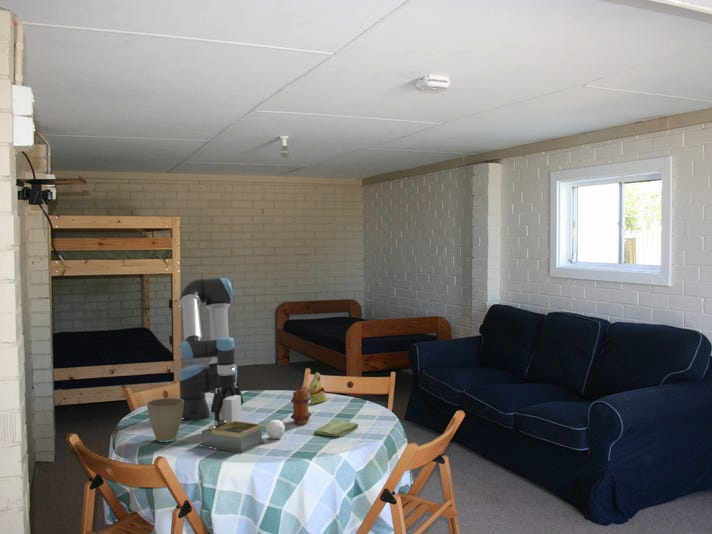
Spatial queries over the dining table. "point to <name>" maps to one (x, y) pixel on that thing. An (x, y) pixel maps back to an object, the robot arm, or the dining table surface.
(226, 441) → the grey and gold block
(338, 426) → the washcloth
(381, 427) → the dining table surface
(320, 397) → the chocolate bunny
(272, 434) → the geometric ball
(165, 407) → the plant pot
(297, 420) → the mug
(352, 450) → the dining table surface
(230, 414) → the supplement box
